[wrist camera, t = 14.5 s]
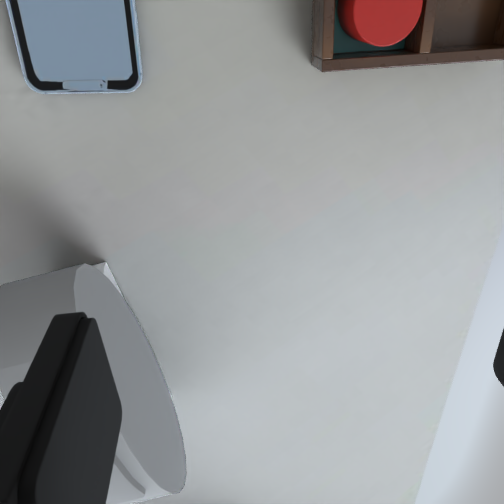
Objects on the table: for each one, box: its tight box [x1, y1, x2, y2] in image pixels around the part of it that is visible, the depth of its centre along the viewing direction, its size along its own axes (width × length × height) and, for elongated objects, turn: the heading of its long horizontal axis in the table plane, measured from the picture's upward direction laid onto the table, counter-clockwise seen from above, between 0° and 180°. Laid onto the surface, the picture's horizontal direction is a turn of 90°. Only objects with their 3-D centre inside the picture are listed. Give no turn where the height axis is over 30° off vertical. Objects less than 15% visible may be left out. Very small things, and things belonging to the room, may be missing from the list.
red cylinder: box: [337, 0, 423, 47], centre depth 26 cm, size 4×4×4 cm
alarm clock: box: [0, 262, 186, 504], centre depth 35 cm, size 23×6×13 cm, turn 14°
